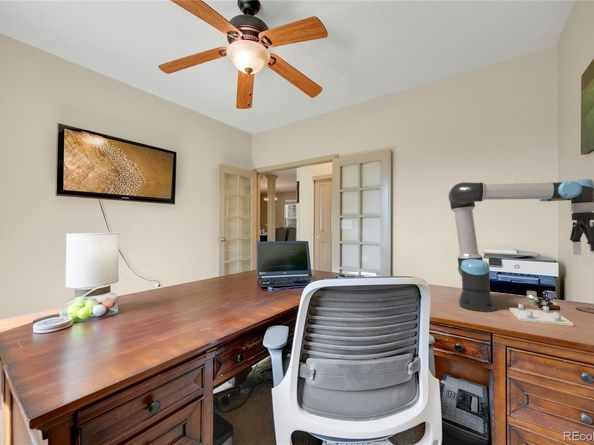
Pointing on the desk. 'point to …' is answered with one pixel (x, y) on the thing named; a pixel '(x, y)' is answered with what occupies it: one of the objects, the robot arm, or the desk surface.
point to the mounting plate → (539, 315)
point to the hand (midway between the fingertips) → (584, 256)
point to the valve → (537, 299)
